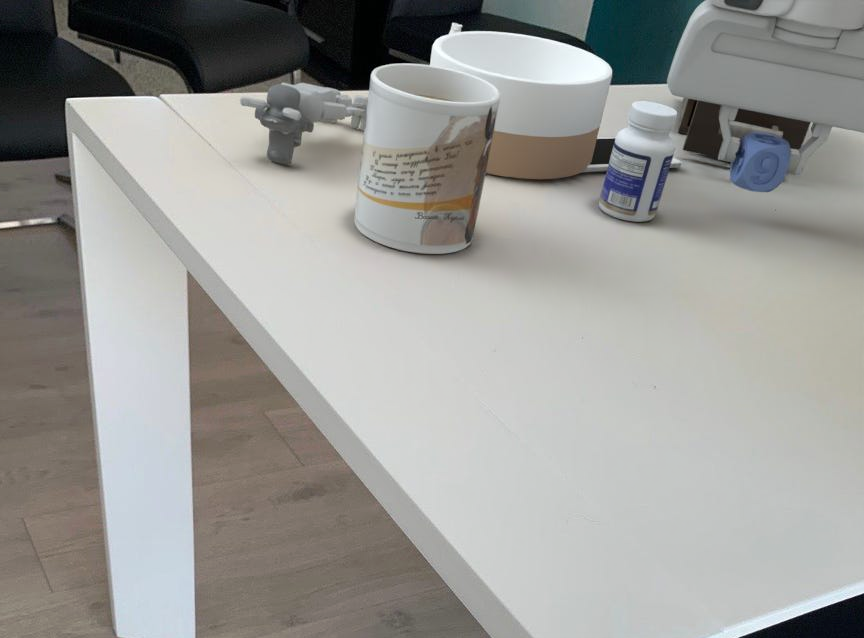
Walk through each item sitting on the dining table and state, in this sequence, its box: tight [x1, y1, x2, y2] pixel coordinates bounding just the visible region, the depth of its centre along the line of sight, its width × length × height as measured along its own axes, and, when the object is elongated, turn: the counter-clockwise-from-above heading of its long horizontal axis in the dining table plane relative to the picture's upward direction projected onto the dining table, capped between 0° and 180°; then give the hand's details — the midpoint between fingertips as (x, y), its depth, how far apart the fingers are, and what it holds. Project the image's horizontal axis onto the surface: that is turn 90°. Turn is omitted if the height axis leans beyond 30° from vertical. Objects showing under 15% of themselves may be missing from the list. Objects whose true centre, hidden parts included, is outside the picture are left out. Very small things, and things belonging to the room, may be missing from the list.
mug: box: [353, 62, 501, 255], centre depth 80 cm, size 10×12×11 cm
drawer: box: [682, 100, 811, 159], centre depth 108 cm, size 18×11×7 cm, turn 165°
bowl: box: [429, 30, 613, 180], centre depth 99 cm, size 17×17×8 cm
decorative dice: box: [729, 132, 791, 193], centre depth 94 cm, size 4×4×4 cm
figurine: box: [239, 82, 368, 166], centre depth 94 cm, size 7×6×18 cm
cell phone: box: [582, 136, 682, 173], centre depth 104 cm, size 8×16×1 cm, turn 118°
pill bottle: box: [598, 100, 678, 223], centre depth 91 cm, size 5×5×9 cm
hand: (757, 166), depth 94 cm, fingers closed on decorative dice, 4 cm apart
